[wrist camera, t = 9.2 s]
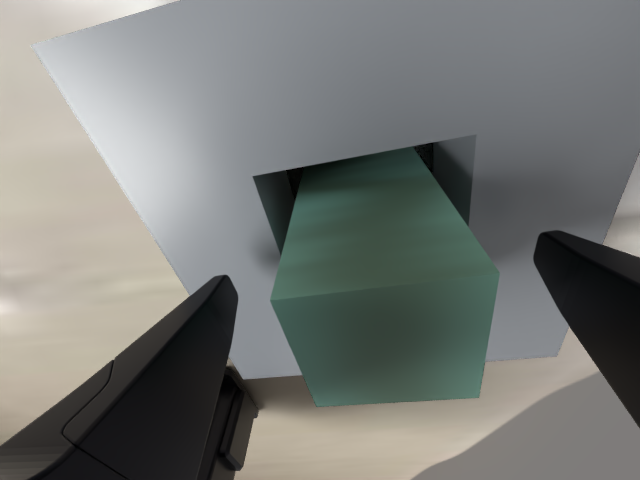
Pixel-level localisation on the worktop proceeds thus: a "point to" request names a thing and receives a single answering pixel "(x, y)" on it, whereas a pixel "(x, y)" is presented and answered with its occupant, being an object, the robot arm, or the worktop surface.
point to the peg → (383, 285)
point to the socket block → (361, 130)
